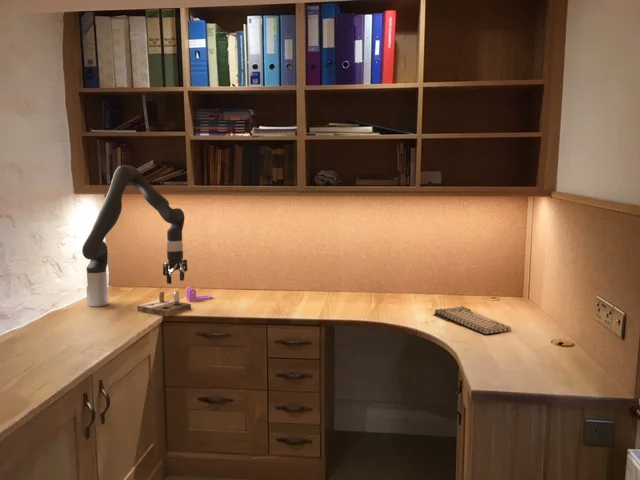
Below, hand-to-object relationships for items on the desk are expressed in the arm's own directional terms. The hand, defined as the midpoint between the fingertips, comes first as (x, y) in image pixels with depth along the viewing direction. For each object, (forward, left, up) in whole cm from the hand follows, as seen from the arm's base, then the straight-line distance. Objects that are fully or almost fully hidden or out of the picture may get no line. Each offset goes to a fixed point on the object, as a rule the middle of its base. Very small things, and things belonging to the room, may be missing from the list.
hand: (175, 282), depth 263 cm
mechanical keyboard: (+133, +50, -15) cm, 143 cm away
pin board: (-5, -3, -14) cm, 15 cm away
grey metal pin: (0, 0, -14) cm, 14 cm away
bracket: (-4, +21, -14) cm, 26 cm away
